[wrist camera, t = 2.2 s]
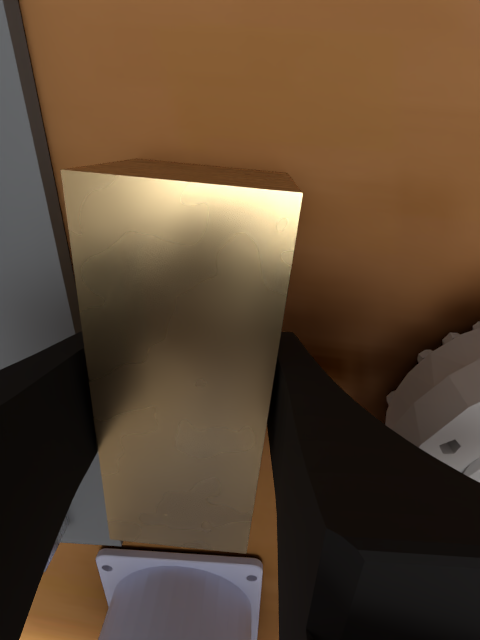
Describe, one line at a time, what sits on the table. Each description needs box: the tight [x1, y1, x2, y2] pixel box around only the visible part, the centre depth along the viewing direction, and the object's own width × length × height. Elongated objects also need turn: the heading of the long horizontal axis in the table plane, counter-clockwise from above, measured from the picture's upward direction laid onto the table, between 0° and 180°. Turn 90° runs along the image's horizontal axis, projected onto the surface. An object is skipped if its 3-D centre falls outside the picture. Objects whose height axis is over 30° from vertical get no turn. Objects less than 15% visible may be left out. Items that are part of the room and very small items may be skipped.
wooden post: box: [61, 159, 303, 554], centre depth 10 cm, size 10×4×4 cm, turn 175°
